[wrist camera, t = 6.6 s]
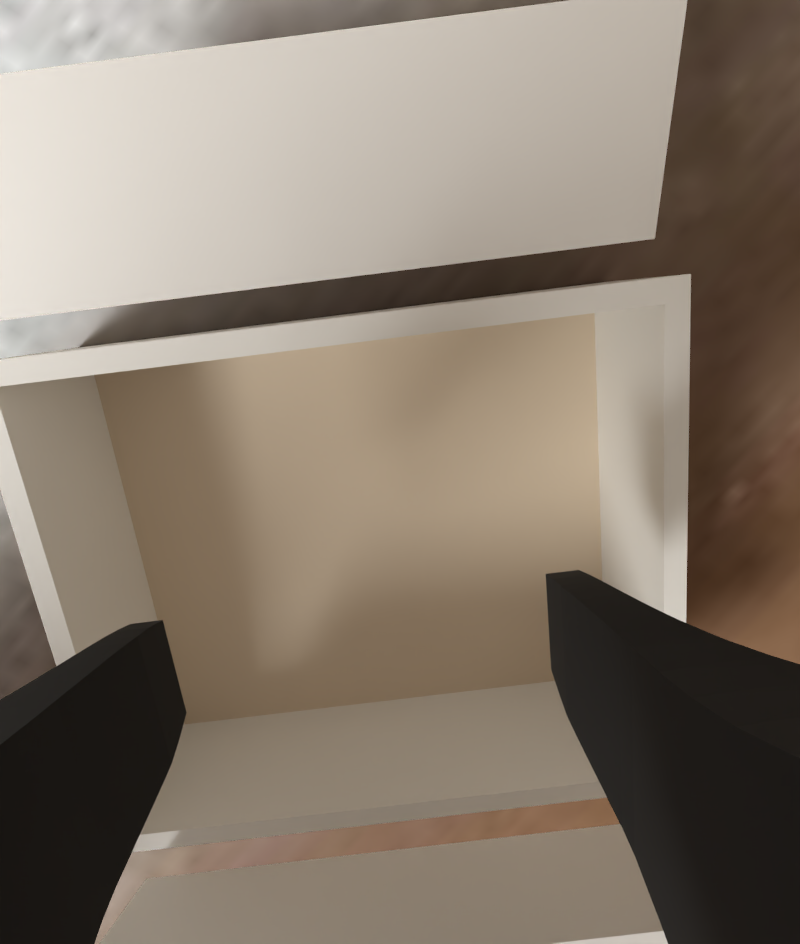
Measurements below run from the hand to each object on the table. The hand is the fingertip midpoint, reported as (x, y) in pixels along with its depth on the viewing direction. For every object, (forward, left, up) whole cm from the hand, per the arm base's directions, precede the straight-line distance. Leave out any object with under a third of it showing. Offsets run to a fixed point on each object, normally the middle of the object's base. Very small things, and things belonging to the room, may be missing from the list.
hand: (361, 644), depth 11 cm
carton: (0, 0, -6) cm, 6 cm away
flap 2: (0, -6, 0) cm, 6 cm away
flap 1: (0, +8, -1) cm, 8 cm away
